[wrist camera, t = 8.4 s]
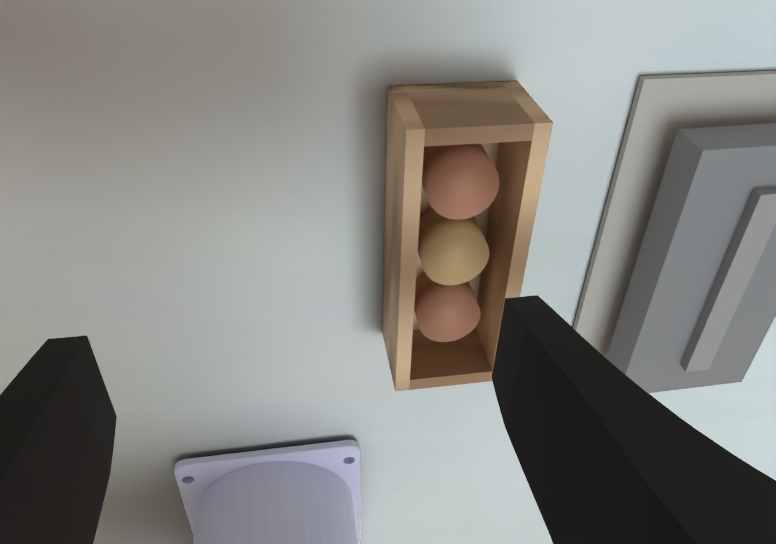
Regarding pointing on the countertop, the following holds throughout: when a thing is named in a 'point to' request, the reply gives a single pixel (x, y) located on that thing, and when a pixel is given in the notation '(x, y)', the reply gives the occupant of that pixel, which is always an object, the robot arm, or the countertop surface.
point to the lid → (704, 263)
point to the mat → (657, 175)
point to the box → (456, 224)
